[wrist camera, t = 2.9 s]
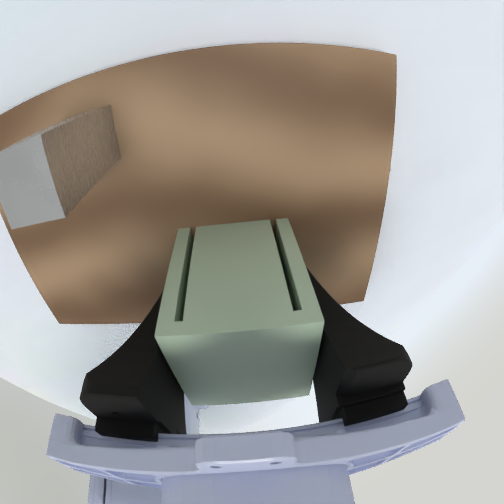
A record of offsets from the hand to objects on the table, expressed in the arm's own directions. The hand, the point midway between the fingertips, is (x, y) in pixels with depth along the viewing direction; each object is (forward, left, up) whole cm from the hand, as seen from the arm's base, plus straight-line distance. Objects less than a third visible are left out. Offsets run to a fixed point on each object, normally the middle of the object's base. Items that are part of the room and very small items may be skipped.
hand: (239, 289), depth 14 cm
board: (+4, +3, -3) cm, 6 cm away
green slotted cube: (0, 0, -2) cm, 2 cm away
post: (+8, +6, -2) cm, 10 cm away
